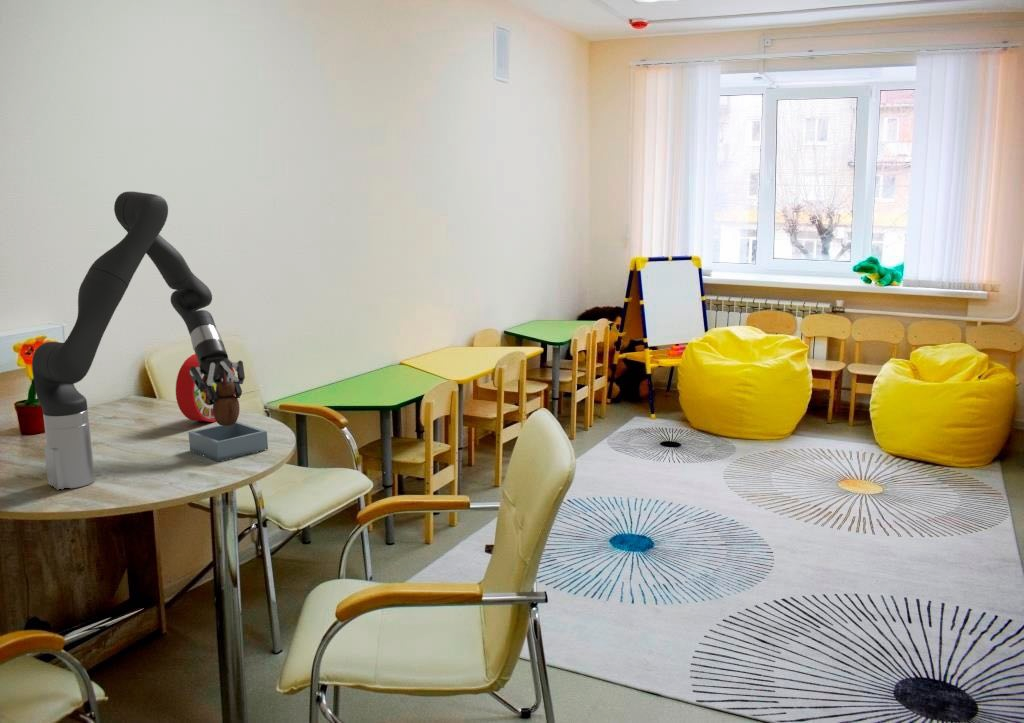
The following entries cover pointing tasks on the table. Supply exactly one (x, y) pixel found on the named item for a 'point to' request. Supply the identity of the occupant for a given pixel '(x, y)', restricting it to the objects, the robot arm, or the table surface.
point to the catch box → (228, 441)
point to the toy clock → (194, 393)
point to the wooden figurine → (226, 403)
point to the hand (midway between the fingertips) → (227, 398)
